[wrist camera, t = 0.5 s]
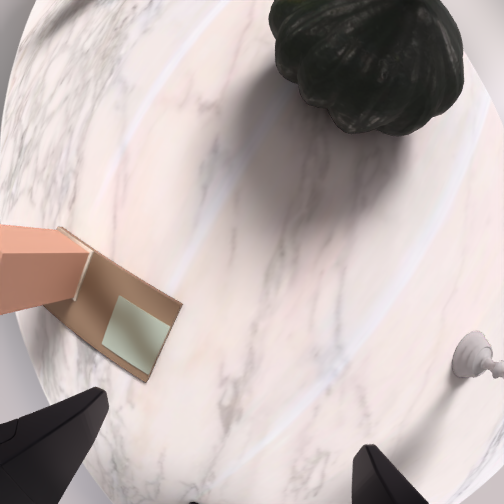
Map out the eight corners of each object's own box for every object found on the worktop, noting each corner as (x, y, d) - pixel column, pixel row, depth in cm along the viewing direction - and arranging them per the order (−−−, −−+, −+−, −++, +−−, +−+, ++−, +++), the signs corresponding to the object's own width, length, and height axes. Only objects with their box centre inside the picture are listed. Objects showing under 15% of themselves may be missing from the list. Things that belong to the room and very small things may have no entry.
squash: (349, -29, 16) (304, -102, 5) (472, 63, 16) (536, 49, 5) (279, 63, 25) (190, 57, 15) (390, 152, 25) (385, 209, 15)
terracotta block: (73, 297, 22) (-9, 317, 12) (44, 272, 22) (-36, 280, 12) (89, 252, 21) (2, 253, 11) (57, 230, 22) (-25, 222, 12)
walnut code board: (148, 379, 22) (144, 383, 21) (40, 298, 23) (35, 299, 22) (182, 303, 22) (179, 305, 21) (62, 227, 22) (57, 226, 22)
